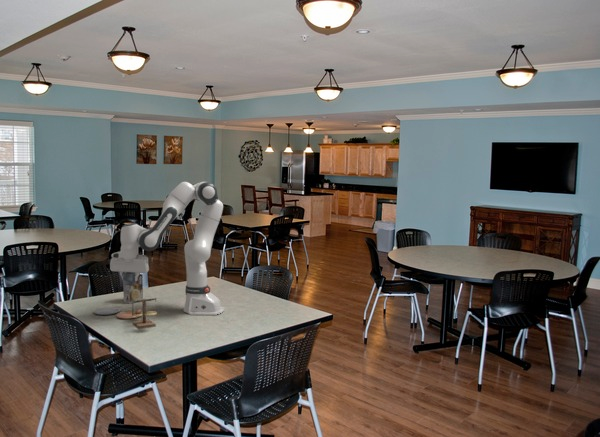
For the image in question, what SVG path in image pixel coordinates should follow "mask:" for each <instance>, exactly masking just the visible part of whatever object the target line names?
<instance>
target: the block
mask: <svg viewBox="0 0 600 437" xmlns="http://www.w3.org/2000/svg"><path fill="white" fill-rule="evenodd" d="M135 276H136V275H135V272H124V273H123V280H122V286H123V285H129V286H132V285H134V284H136V281H133V278H134V277H135Z"/></svg>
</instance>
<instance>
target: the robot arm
mask: <svg viewBox="0 0 600 437" xmlns="http://www.w3.org/2000/svg"><path fill="white" fill-rule="evenodd" d="M194 200H196V201H199V202H201V203H202V210H201V212H200V215H199V217H198V219H197V222H196V224H195V228H194V234H193V235H194V236H193V239H190V240H188V241H187V242H186V243H185V245H184V249H183V250H184V260H185V269H186V285H185V289H184V291H185V302H184V307H183V310H182V311H183V312H184V313H187V314H188V315H190V316H191V315H192V316H217V314H219V315H221V314H223V313H224V312H225V310H224V309H225V307H224V306H222V305H221V300H220V298H219V297H217V296H216V295H215V294H213V293H212V292H211V287H212V286H210V285H208V279H207V278H208V270H207V264H206V262H207V261H208V260H209V259H210V257H211V252H212V251H211V250H212V247H213V242H214V237H215V234H216V232H217V228H218V226H219V224H220V221H221V218H222V215H223V211H224V204H223V202H222V201H221V200H220V199H219V198H218V189H217V187H216V185H215V184H213V182H209V181H200V182H196V183H193V184H191V183H190V182H188V181H182V182H180V183H179V184H178V185H177V186H176V187H174V189H172V191H171V192H170V193H169V194H168V195H167V197H166V198H165V200H164V202H162V203H163V204H162V211H161V215H160V216H159V218H158V219H157V221H156V222H155V224H154V225H153V226H152V227H151V228H150V229H149V228H145V227H143V226H141V225H139V224H137V223H135V222H132V223H130V222H129V223H125V224H124V225H122V227H121V229H120V244H121V246H120V250H119V251H117V252H113V253H112V254H111V259H110V262H109V268H110V269H109V270H110V271H111V272H119V275H120V277H121V281H123V273H126V272H135V275H136V276H135V277H134V278H133V281H137V277H138V276H139V274H147V273H148V272H149V270H150V267H149V266H150V265H149V257H148V255H145V254H139V248H141V249H142V250H144V251H146V252H152V251H155V250H156V249H157V248H158V247H159V245H160V243H161V239H162V236H163V235H164V233H165V232H166V231H167V229H168V228H169V226H170V225H171V224H172V223H173V221H174V220H175V219H176V218H177V217H178V216H179V215H180V214H182V212H183V211H184V210H185V209H186V208H187V206H188V205H189V203H190V202H192V201H194ZM223 311H224V312H223ZM222 312H223V313H222ZM220 313H221V314H220Z"/></svg>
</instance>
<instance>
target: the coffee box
mask: <svg viewBox="0 0 600 437" xmlns="http://www.w3.org/2000/svg"><path fill="white" fill-rule="evenodd" d="M143 274H144V273H140V274H139V276H138V277H137V281H136V284H134V285H132V286H129V285H123V284H122V287H123V289H122V290H123V303H126V304H128V305H129V304H131V305H132V301H138V300H143V299H144V290H143V288H144V287H143V286H144V285H143V284H144V283H143Z"/></svg>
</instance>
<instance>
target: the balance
mask: <svg viewBox="0 0 600 437" xmlns="http://www.w3.org/2000/svg"><path fill="white" fill-rule="evenodd" d="M151 301H157V298H156V297H155V298H147V299H146V298H143V300H138V301H132V303H131V307H132V310H131V311H132V316H135V317H137V318H139V317H138V316H140V317H142V319H141V320H140V319H139V320H134V321H132V325H134V326H135V328H138V329H139V330H142V329H148V328H154V327H157V324H156V323H155V322H153V321H152V320H150V319H147V316H148V317H150V316H156V315H158V312H157V311H156V310H154V311H153V310H150V311H147V302H151ZM135 303H142V309H140V308H138V309H137V308H136V309H135V310H134V304H135ZM141 310H142V311H141ZM133 311H135V313H133Z"/></svg>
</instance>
